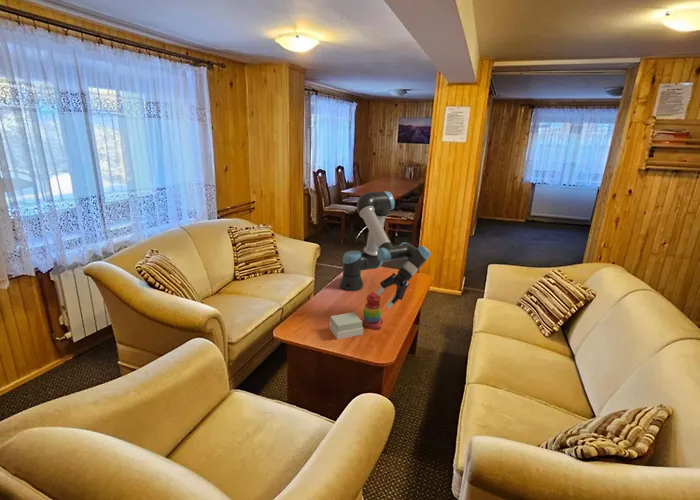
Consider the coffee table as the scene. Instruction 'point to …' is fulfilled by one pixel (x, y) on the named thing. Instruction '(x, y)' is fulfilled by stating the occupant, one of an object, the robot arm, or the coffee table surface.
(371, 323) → the stacking bear
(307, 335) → the coffee table surface
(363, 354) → the coffee table surface
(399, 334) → the coffee table surface
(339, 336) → the tower base
